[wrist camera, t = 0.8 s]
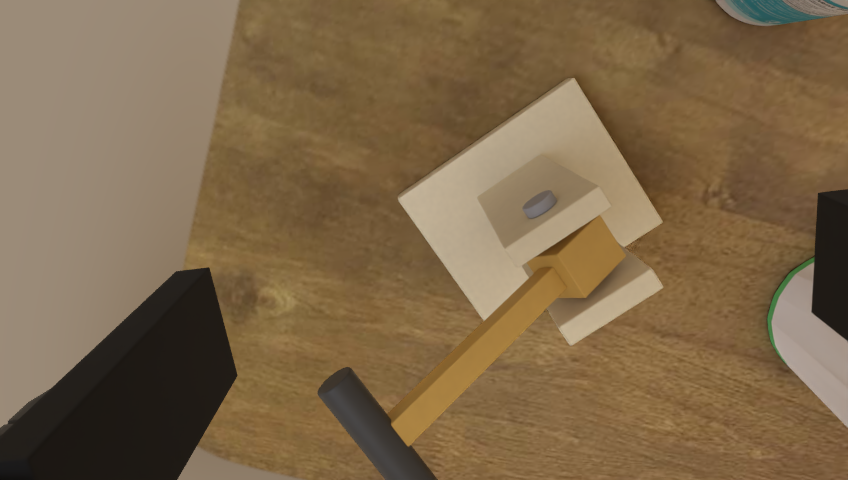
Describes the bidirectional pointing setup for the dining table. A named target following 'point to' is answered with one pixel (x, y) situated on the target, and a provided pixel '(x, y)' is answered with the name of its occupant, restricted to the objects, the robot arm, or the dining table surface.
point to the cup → (809, 341)
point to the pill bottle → (782, 10)
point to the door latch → (536, 208)
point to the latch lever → (468, 354)
